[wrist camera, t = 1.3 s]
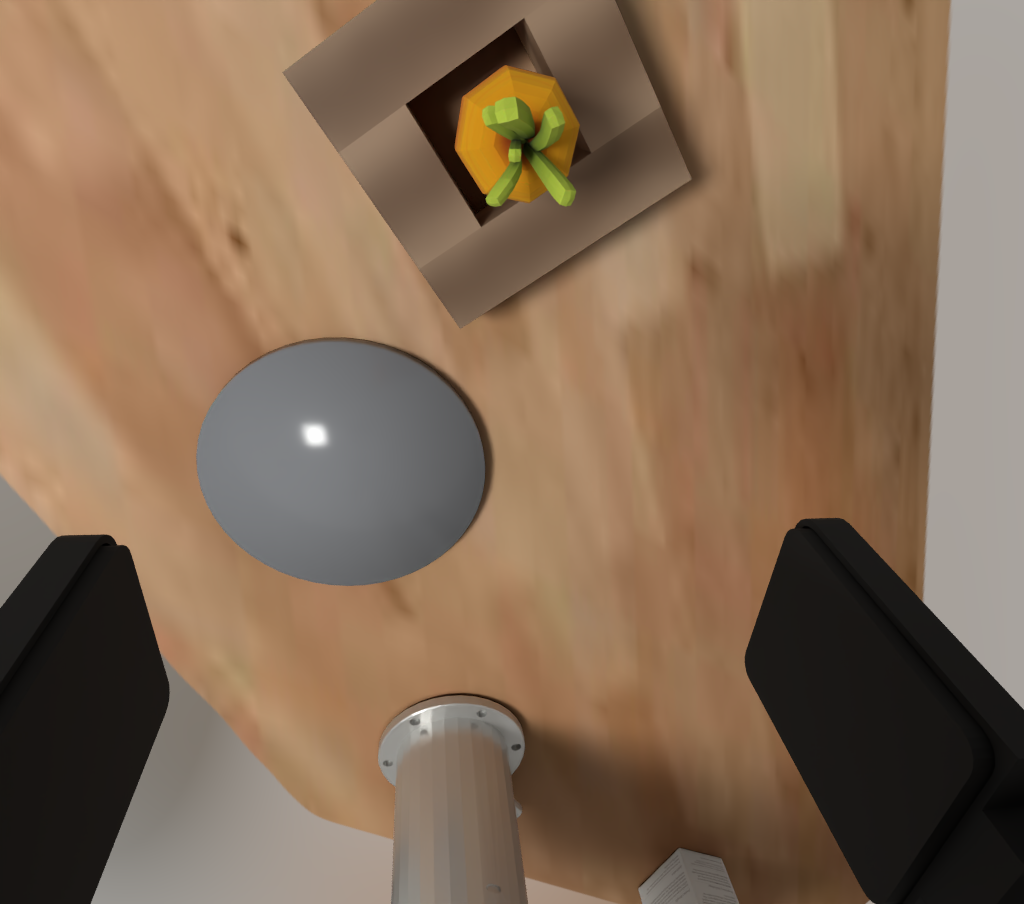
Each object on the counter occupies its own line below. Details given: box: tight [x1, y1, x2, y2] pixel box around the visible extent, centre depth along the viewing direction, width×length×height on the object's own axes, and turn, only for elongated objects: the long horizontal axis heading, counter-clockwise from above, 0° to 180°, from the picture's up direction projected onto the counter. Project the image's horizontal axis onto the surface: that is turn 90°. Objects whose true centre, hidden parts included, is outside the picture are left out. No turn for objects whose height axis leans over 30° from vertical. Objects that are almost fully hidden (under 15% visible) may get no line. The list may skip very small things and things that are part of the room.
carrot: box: [455, 65, 580, 207], centre depth 28 cm, size 5×5×15 cm
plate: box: [196, 338, 485, 586], centre depth 43 cm, size 18×18×1 cm
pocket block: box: [282, 0, 692, 329], centre depth 33 cm, size 14×14×4 cm
